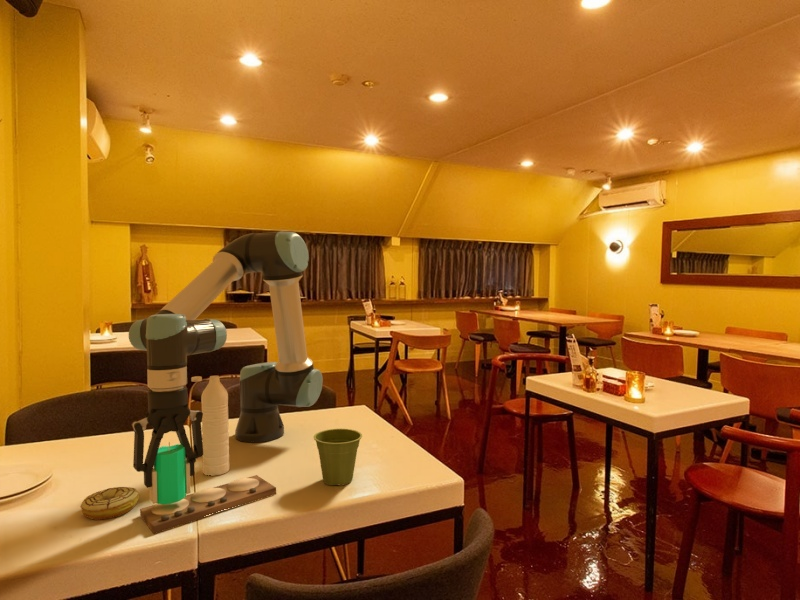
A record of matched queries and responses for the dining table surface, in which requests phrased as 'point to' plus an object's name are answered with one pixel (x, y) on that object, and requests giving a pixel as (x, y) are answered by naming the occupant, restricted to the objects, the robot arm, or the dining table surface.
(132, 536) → the dining table surface
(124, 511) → the decorated donut
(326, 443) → the plant pot
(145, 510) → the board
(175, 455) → the candle
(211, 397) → the water bottle
